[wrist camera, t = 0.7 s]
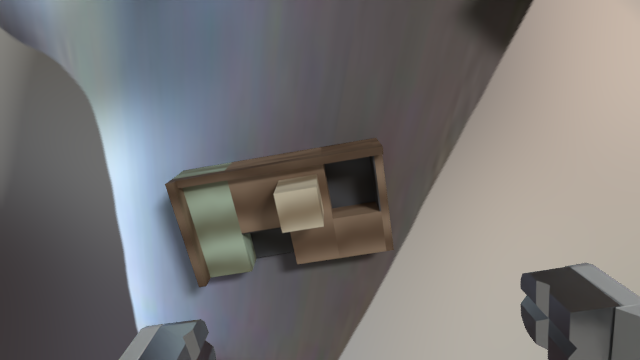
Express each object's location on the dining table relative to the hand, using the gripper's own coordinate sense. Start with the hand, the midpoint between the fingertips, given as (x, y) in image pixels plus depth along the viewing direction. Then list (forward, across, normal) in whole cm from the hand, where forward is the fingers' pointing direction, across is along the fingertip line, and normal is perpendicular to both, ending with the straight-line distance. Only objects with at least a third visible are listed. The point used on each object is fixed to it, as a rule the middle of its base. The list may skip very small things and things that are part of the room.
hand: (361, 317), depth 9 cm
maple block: (+35, +5, +8) cm, 36 cm away
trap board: (+39, +8, +10) cm, 41 cm away
